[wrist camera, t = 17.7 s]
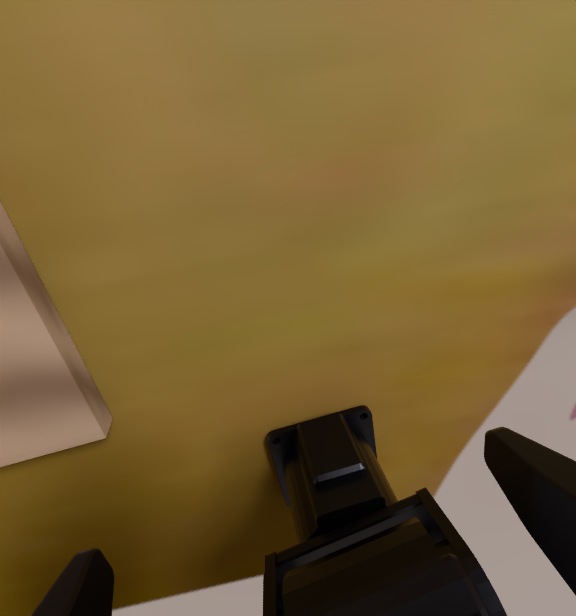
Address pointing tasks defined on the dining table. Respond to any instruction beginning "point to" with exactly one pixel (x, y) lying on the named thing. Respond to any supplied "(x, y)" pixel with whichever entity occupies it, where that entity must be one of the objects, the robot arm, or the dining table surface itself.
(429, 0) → the dining table surface
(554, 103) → the dining table surface
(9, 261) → the board
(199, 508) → the dining table surface
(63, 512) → the dining table surface
